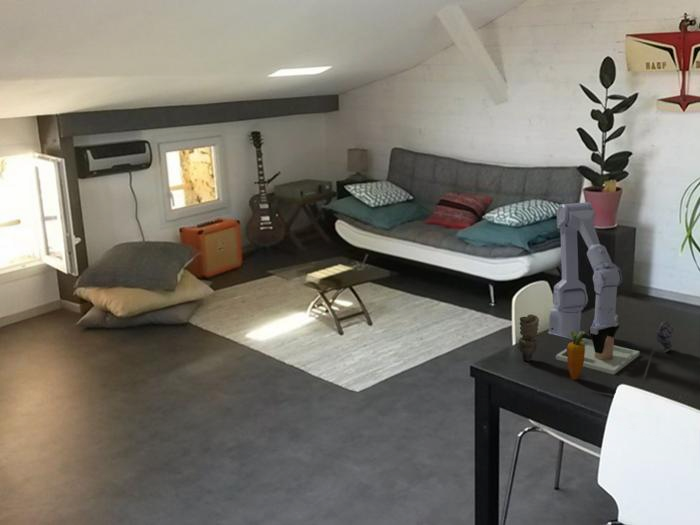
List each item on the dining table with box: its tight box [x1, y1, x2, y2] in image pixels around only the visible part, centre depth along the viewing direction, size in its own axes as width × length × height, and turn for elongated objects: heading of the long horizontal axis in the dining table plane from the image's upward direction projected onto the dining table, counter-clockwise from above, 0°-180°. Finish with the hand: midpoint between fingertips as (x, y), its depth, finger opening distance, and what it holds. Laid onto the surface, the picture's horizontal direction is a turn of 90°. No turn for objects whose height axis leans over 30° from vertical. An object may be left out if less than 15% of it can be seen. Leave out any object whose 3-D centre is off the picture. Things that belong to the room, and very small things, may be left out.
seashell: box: [655, 320, 676, 353], centre depth 221 cm, size 5×5×10 cm
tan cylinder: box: [595, 336, 615, 361], centre depth 217 cm, size 5×5×6 cm
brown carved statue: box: [518, 314, 540, 362], centre depth 216 cm, size 6×6×15 cm
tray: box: [555, 337, 640, 375], centre depth 218 cm, size 18×18×2 cm
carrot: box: [567, 331, 585, 381], centre depth 202 cm, size 5×5×15 cm
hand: (602, 349), depth 218 cm, fingers closed on tan cylinder, 5 cm apart
